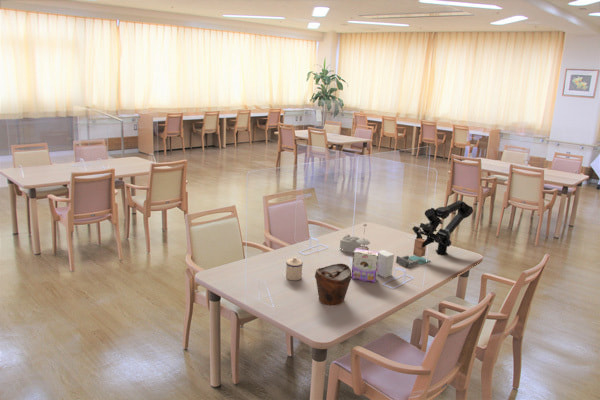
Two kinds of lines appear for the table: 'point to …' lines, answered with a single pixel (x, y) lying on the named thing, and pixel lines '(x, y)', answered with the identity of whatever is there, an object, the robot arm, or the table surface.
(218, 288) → the table surface
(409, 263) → the charcoal u-shaped frame
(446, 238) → the robot arm
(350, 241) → the lumpy-topped squat cylinder
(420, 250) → the terracotta block
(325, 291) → the brown tapered cylinder
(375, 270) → the candy box
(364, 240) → the french press
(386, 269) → the small box
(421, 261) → the teal mat
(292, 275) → the teacup with lid
